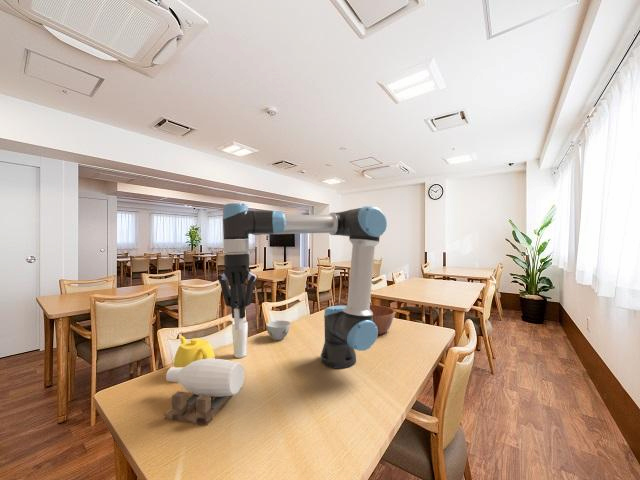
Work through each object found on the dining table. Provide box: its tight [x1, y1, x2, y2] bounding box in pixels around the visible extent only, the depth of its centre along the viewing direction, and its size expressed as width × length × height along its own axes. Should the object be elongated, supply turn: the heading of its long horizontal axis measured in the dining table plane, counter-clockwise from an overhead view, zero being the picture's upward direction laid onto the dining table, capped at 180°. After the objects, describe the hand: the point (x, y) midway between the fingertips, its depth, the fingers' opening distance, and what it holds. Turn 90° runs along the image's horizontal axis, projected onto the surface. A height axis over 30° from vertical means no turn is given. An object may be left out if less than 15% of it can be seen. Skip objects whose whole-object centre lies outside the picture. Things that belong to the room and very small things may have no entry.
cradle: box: [164, 386, 243, 426], centre depth 87 cm, size 14×19×7 cm
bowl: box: [370, 304, 395, 335], centre depth 154 cm, size 25×25×12 cm
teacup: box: [265, 320, 291, 341], centre depth 143 cm, size 15×12×8 cm
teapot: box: [173, 335, 216, 368], centre depth 108 cm, size 14×20×13 cm
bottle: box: [165, 358, 245, 398], centre depth 89 cm, size 11×11×25 cm
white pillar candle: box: [231, 319, 249, 359], centre depth 121 cm, size 7×7×15 cm
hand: (239, 328), depth 85 cm, fingers closed
